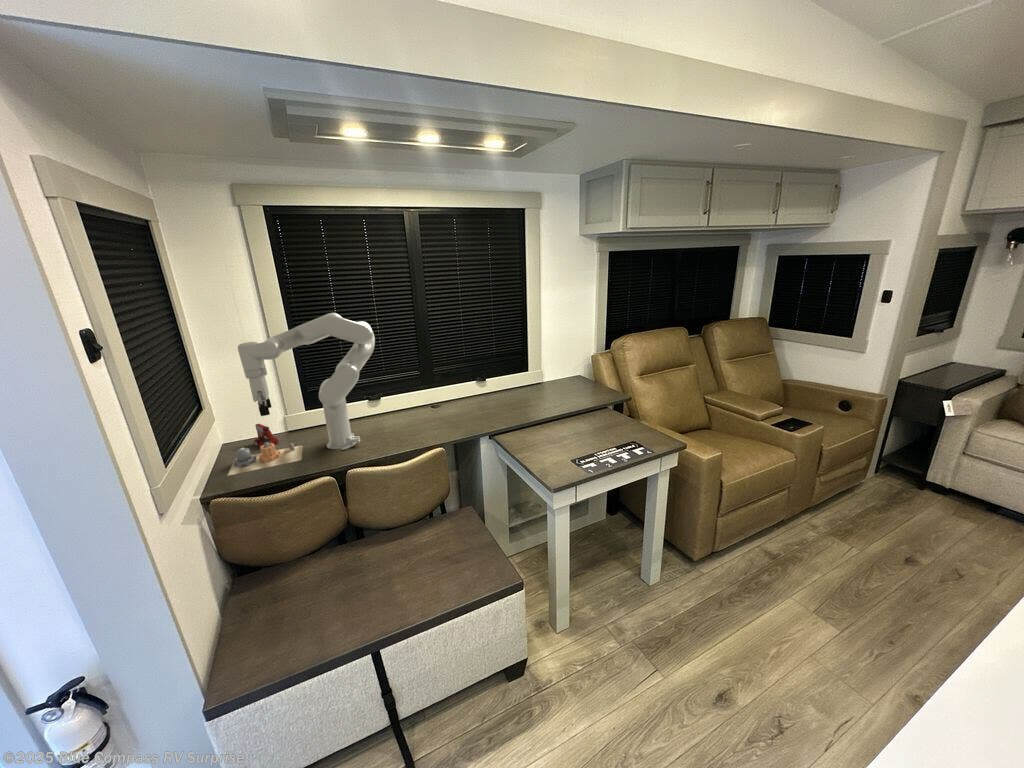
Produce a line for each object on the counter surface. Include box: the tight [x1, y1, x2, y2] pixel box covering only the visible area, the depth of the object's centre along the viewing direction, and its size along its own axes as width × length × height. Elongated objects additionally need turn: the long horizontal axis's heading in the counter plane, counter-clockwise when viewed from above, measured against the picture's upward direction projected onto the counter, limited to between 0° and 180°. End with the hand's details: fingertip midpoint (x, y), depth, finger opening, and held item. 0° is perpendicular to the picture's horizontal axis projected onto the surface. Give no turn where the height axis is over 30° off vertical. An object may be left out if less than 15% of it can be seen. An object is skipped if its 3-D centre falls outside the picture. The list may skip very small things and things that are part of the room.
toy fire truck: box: [253, 423, 280, 448], centre depth 177 cm, size 7×12×10 cm, turn 57°
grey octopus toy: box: [232, 447, 257, 468], centre depth 160 cm, size 8×8×7 cm
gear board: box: [226, 442, 304, 477], centre depth 162 cm, size 26×16×8 cm, turn 116°
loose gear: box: [259, 443, 281, 462], centre depth 164 cm, size 8×8×6 cm
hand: (266, 411), depth 162 cm, fingers open, 9 cm apart
